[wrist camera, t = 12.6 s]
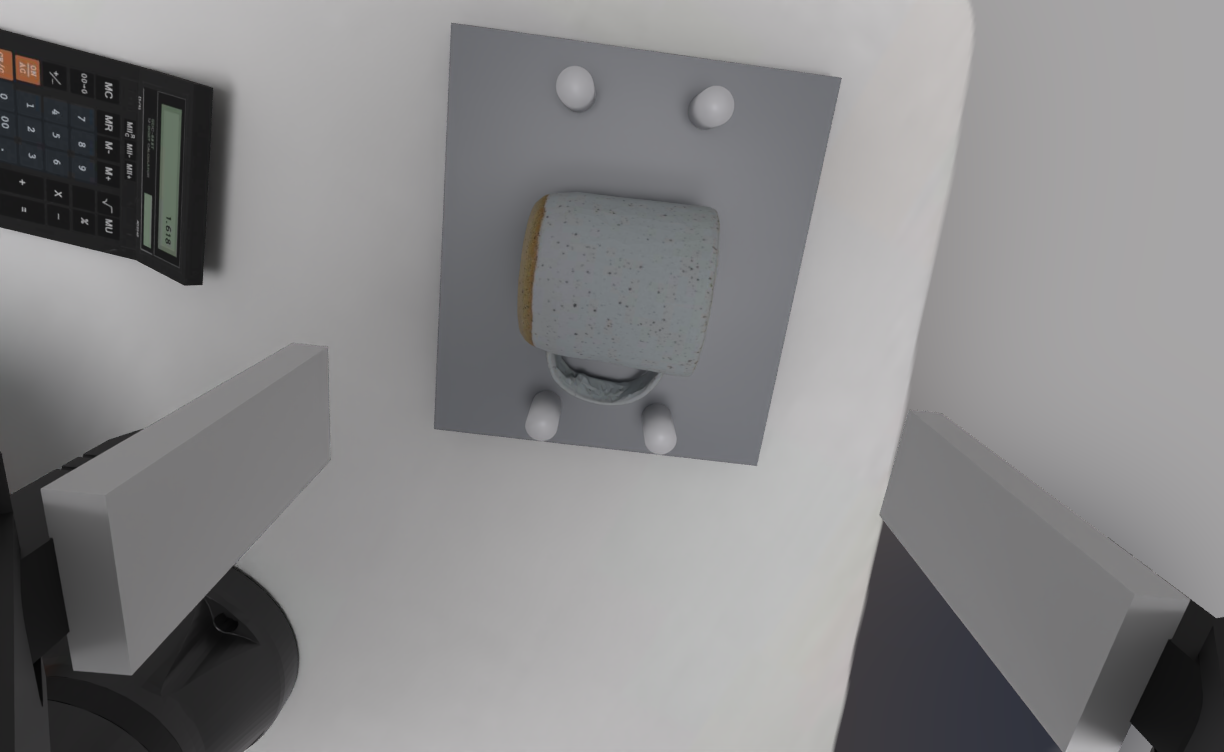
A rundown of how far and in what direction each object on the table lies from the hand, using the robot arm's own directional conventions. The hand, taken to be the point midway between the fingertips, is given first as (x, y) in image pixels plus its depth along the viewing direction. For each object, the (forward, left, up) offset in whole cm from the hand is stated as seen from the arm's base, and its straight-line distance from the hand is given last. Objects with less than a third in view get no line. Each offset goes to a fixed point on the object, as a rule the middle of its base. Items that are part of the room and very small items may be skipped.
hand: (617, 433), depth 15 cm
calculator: (-26, +3, -21) cm, 33 cm away
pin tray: (0, +1, -21) cm, 21 cm away
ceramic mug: (0, -1, -19) cm, 19 cm away
